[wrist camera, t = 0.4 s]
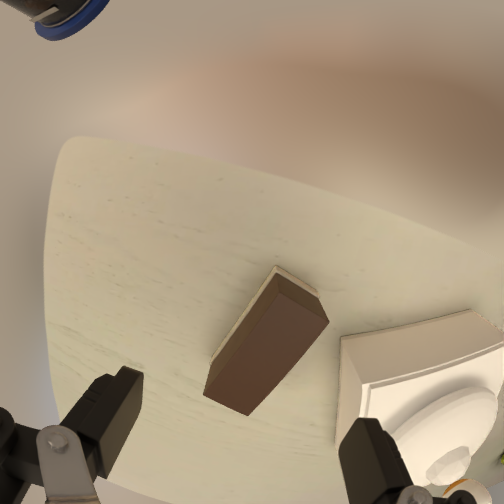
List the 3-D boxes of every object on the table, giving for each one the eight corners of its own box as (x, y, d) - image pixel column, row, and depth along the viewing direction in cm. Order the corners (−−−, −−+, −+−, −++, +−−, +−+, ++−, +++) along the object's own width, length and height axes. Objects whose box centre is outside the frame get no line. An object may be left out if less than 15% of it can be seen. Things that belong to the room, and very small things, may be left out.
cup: (438, 470, 35) (465, 526, 20) (408, 473, 35) (434, 537, 19) (468, 440, 33) (502, 495, 18) (440, 441, 33) (476, 506, 17)
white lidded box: (339, 336, 28) (392, 453, 13) (473, 308, 27) (557, 371, 12) (333, 443, 32) (355, 538, 17) (446, 412, 31) (492, 482, 16)
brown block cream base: (275, 264, 27) (279, 289, 21) (317, 291, 27) (332, 320, 21) (211, 357, 29) (200, 395, 23) (250, 377, 30) (247, 418, 24)
